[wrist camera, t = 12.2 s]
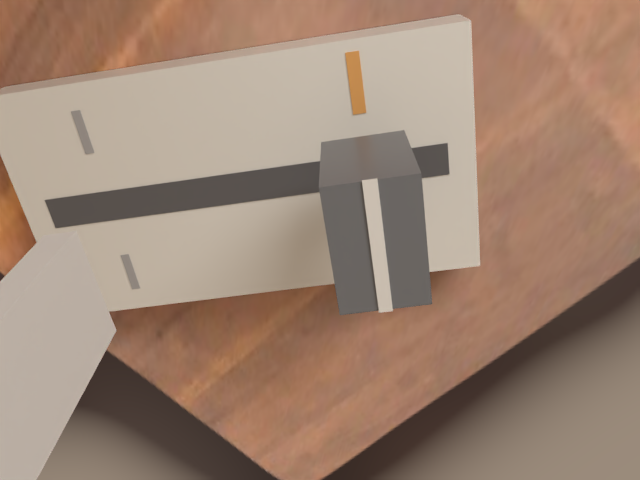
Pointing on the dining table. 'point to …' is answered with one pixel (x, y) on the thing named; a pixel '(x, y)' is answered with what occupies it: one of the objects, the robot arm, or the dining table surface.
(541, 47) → the dining table surface
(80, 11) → the dining table surface
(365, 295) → the fader knob
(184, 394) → the dining table surface
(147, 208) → the console
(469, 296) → the dining table surface
